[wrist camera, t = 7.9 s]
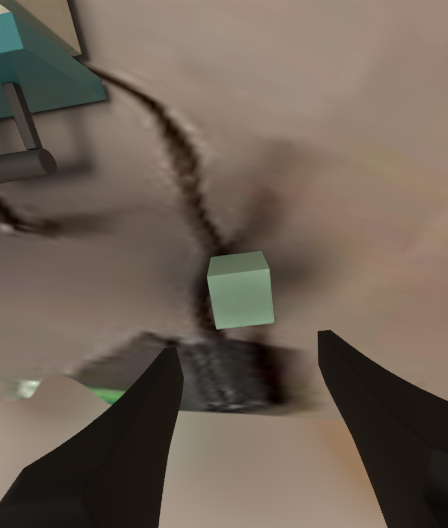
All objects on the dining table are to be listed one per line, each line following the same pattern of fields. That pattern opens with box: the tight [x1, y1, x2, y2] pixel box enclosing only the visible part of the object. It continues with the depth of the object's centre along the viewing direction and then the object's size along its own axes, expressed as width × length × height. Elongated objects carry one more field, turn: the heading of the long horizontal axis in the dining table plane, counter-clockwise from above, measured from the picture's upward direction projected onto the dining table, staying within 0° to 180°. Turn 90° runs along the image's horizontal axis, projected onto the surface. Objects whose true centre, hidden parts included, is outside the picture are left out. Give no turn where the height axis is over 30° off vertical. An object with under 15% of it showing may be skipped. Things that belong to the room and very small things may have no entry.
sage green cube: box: [207, 251, 274, 329], centre depth 20 cm, size 4×4×4 cm
